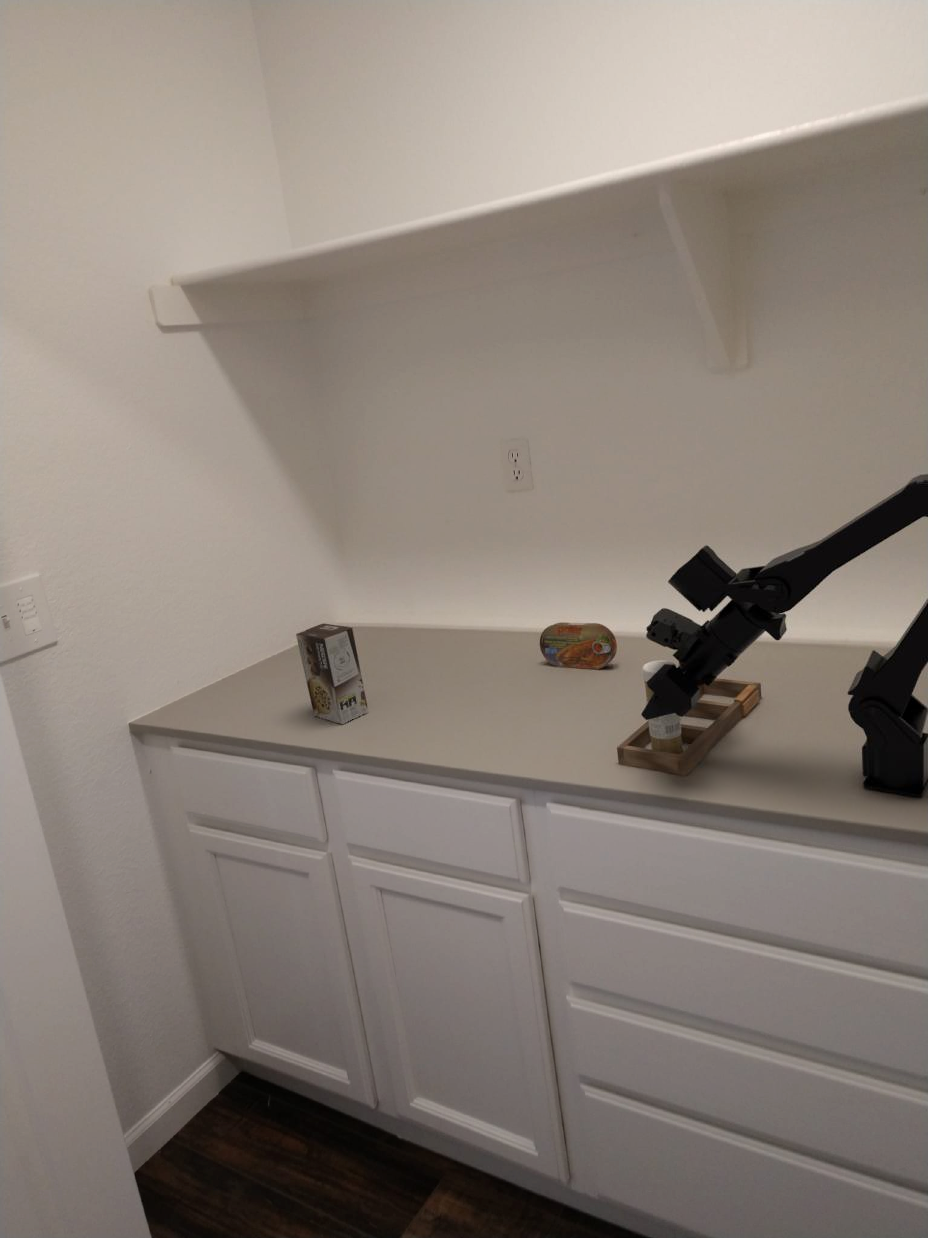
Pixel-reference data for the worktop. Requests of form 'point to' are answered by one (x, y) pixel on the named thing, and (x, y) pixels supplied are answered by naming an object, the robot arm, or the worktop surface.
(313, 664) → the coffee box
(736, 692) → the rack
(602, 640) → the tin
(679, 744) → the sprinkles bottle
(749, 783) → the worktop surface
